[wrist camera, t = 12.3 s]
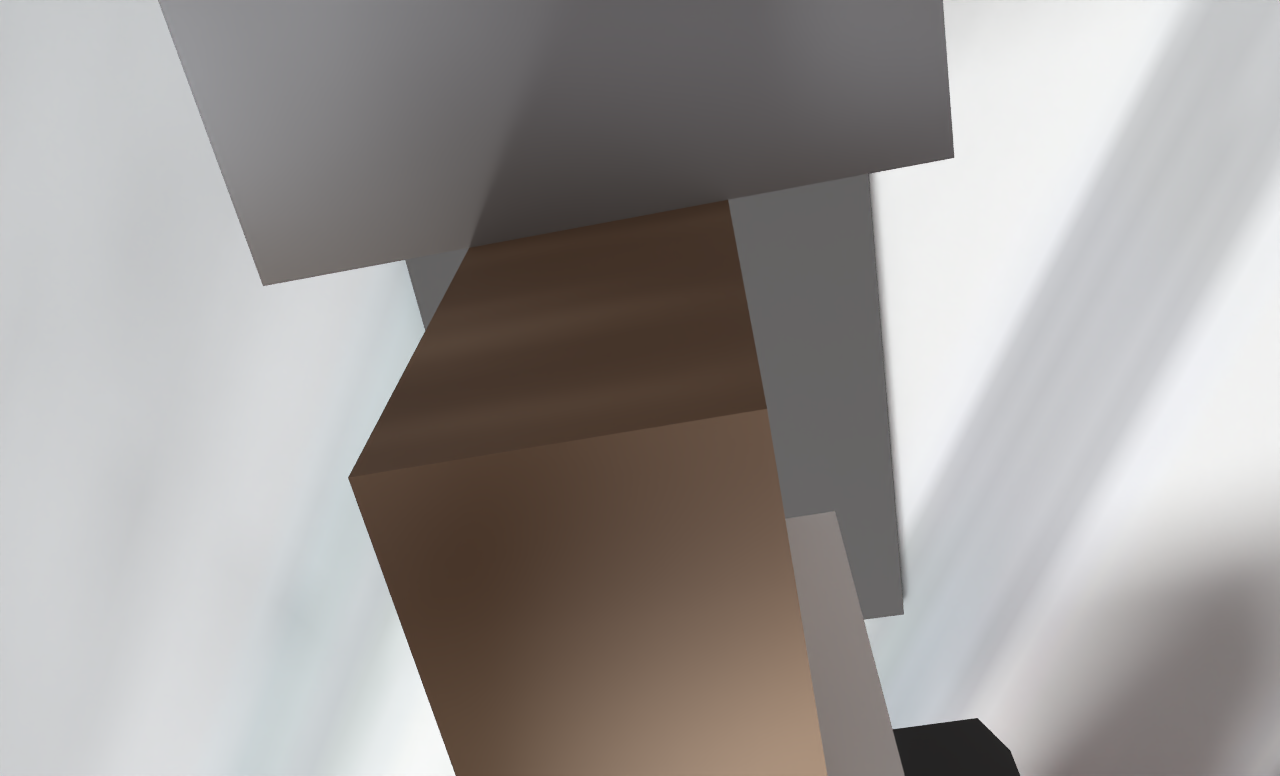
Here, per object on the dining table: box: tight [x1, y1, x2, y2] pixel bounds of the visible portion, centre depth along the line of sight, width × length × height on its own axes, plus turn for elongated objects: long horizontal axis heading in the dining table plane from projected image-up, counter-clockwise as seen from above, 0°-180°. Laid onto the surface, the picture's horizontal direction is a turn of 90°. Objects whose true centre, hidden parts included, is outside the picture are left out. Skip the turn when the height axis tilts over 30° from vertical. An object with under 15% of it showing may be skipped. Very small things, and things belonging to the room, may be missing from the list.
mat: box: [405, 174, 904, 619], centre depth 27 cm, size 12×28×1 cm, turn 10°
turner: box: [158, 0, 954, 776], centre depth 11 cm, size 24×8×6 cm, turn 11°
